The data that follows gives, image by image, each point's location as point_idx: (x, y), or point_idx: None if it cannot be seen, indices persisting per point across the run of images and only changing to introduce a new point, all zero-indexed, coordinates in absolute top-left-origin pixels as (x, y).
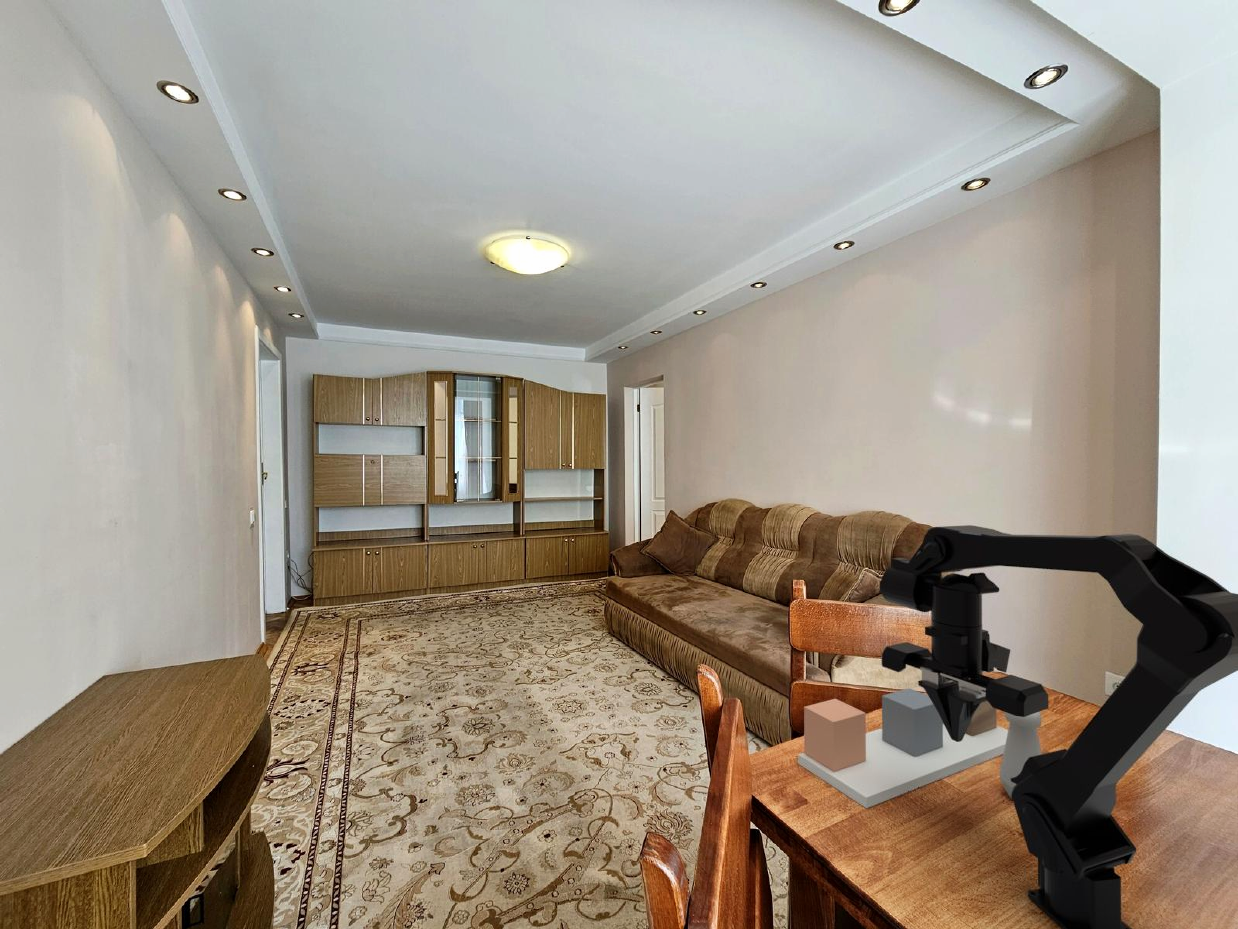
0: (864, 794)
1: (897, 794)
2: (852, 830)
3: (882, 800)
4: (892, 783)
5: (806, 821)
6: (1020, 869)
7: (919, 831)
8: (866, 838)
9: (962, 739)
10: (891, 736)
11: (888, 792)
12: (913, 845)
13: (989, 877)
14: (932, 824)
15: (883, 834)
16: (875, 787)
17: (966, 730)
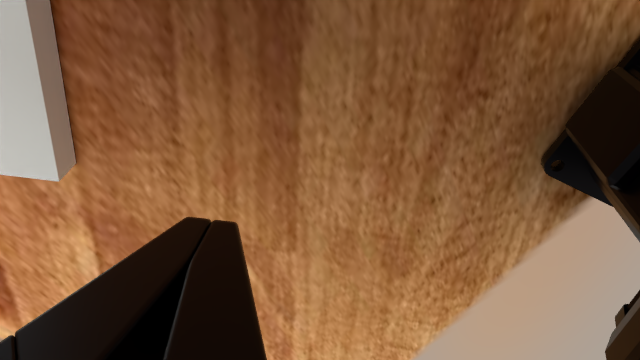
0: (41, 171)
1: (47, 10)
2: None
3: (61, 93)
4: (8, 20)
5: None
6: (497, 57)
7: (226, 134)
8: None
9: (238, 228)
10: None
11: (44, 67)
12: (258, 203)
13: (444, 165)
14: (223, 65)
15: None
16: (14, 103)
17: (246, 270)
